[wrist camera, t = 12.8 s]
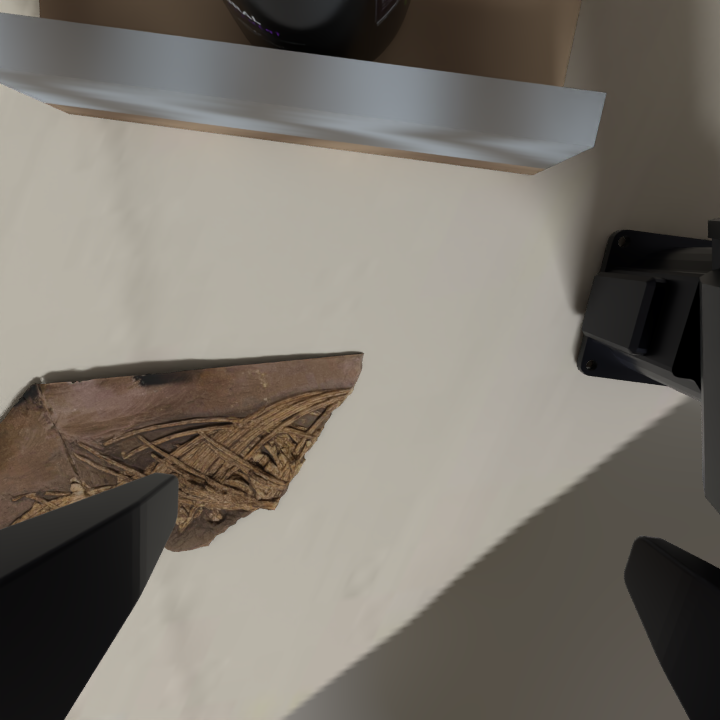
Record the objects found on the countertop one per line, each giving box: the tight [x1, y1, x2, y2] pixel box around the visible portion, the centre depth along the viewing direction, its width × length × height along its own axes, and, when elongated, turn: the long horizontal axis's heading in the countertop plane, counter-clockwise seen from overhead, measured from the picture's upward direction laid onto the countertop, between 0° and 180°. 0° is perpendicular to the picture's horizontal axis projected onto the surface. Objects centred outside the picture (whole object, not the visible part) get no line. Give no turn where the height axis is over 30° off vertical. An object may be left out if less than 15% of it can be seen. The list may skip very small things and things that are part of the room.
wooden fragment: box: [0, 353, 364, 552], centre depth 23 cm, size 26×11×1 cm, turn 110°
